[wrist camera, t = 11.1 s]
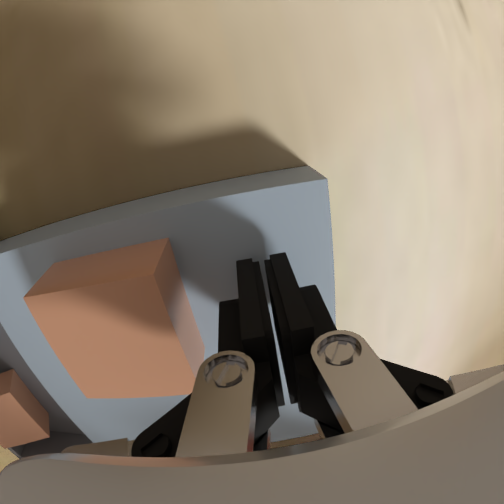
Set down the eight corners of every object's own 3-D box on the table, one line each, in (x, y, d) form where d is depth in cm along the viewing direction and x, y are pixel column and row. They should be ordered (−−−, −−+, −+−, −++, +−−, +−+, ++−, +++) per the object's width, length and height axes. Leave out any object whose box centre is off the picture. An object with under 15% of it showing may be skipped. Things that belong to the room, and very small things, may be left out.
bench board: (308, 165, 12) (327, 178, 10) (324, 400, 18) (333, 429, 16) (-3, 242, 12) (-30, 263, 10) (105, 422, 19) (98, 448, 16)
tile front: (168, 237, 10) (153, 274, 8) (204, 347, 12) (202, 393, 10) (53, 263, 10) (23, 297, 8) (102, 357, 12) (86, 398, 10)
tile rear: (-36, 406, 11) (-31, 384, 13) (4, 448, 14) (5, 426, 16) (9, 392, 13) (13, 368, 15) (49, 437, 15) (48, 413, 17)
